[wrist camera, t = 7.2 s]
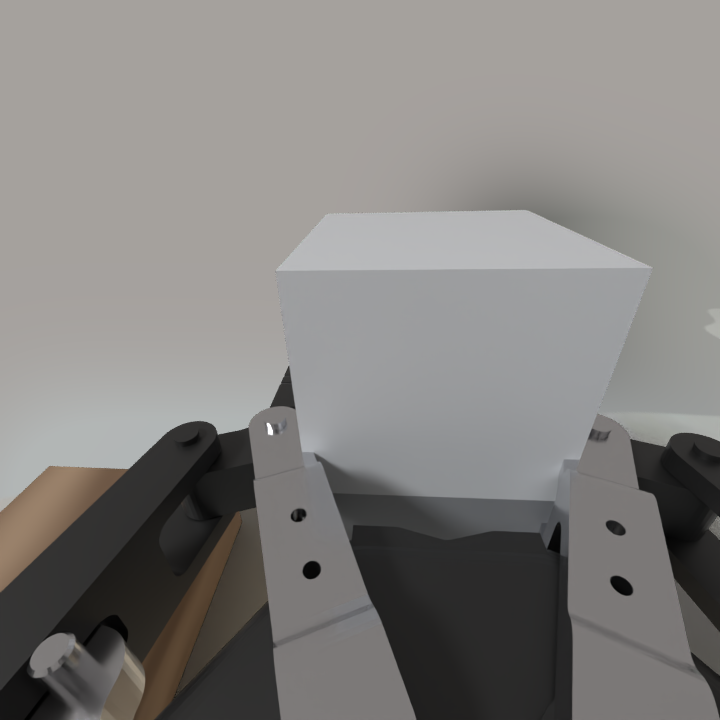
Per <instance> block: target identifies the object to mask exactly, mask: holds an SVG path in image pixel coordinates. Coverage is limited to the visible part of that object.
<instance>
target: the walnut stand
mask: <svg viewBox="0 0 720 720" xmlns="http://www.w3.org/2000/svg"><path fill="white" fill-rule="evenodd" d="M128 470H129V469H108V468H83V467H81V468H80V467H58V466H57V467H55V466H49V467H48V468H47V469H46V470H45V471H44V472H43V473H42V474H41V475H40V476H38V478H36V479H35V480H34V481H33V482H32V483H31V484H30V485H29V486H28V487H27V488H26V489H25V490H24V491H23V492H22V493H21V494H19V495H18V496H17V497H16V498H15V499H14V500H13V501H12V502H11V503H10V504H9V505H8V506H7V507H6V508H5V509H3V510H2V511H1V512H0V592H1V591H2V590H3V589H4V588H5V587H6V586H8V585H9V584H10V583H11V582H12V581H13V580H14V579H15V578H16V577H17V576H18V575H19V574H20V573H21V572H22V571H23V570H24V569H25V568H26V567H27V566H28V565H29V564H30V563H32V562H33V561H34V560H35V559H36V558H37V557H38V556H39V555H40V554H41V553H42V552H43V551H44V550H45V549H46V548H47V547H48V546H49V545H50V544H51V543H52V542H53V541H54V540H56V539H57V538H58V537H59V536H60V535H61V534H62V533H63V532H64V531H65V530H66V529H67V528H68V527H69V526H70V525H71V524H72V523H73V522H74V521H75V520H76V519H77V518H78V517H80V516H81V515H82V514H83V513H84V512H85V511H86V510H87V509H88V508H89V507H90V506H91V505H92V504H93V503H94V502H95V501H96V500H97V499H98V498H99V497H100V496H101V495H102V494H104V493H105V492H106V491H107V490H108V489H109V488H110V487H111V486H112V485H113V484H114V483H115V482H116V481H117V480H118V479H119V478H120V477H121V476H122V475H123V474H124V473H125V472H126V471H128ZM241 523H242V520H241V516H240V513H239V512H236V514H235V516H234V518H233V519H232V521H231V522H230V524H229V526H228V527H227V529H226V530H225V532H224V534H223V535H222V537H221V538H220V540H219V541H218V543H217V545H216V546H215V548H214V549H213V551H212V553H211V554H210V556H209V557H208V559H207V561H206V562H205V564H204V565H203V567H202V569H201V570H200V572H199V573H198V575H197V577H196V578H195V580H194V581H193V583H192V584H191V586H190V588H189V589H188V591H187V592H186V594H185V596H184V597H183V599H182V600H181V602H180V604H179V605H178V607H177V608H176V610H175V612H174V613H173V615H172V616H171V618H170V620H169V621H168V623H167V624H166V626H165V627H164V629H163V631H162V632H161V634H160V635H159V637H158V639H157V640H156V642H155V643H154V645H153V647H152V648H151V650H150V651H149V653H148V655H147V656H146V658H145V659H144V661H143V663H142V665H143V668H144V671H145V687H144V692H143V696H142V699H141V702H140V704H139V706H138V708H137V710H136V712H135V715H134V718H133V720H154V719H155V718H156V717H157V716H158V715H159V714H160V713H161V712H162V711H163V710H164V709H165V708H166V707H167V706H168V704H169V703H170V702H171V701H172V700H173V698H174V695H175V693H176V690H177V688H178V685H179V683H180V680H181V677H182V675H183V672H184V670H185V667H186V665H187V662H188V659H189V657H190V654H191V652H192V649H193V647H194V644H195V642H196V639H197V636H198V634H199V631H200V629H201V626H202V624H203V621H204V618H205V616H206V613H207V611H208V608H209V606H210V603H211V600H212V598H213V595H214V593H215V590H216V588H217V585H218V582H219V580H220V577H221V575H222V572H223V570H224V567H225V564H226V562H227V559H228V557H229V554H230V552H231V549H232V546H233V544H234V541H235V539H236V536H237V534H238V531H239V528H240V526H241Z"/></svg>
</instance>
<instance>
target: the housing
mask: <svg viewBox="0 0 720 720" xmlns="http://www.w3.org/2000/svg"><path fill="white" fill-rule="evenodd" d="M652 269H653V268H652V267H650V266H648V265H646V264H643V263H641V262H639V261H637V260H635V259H632V258H630V257H628V256H626V255H624V254H622V253H619V252H617V251H615V250H613V249H610V248H608V247H606V246H604V245H602V244H600V243H597V242H595V241H593V240H591V239H589V238H587V237H584V236H582V235H580V234H578V233H576V232H573V231H571V230H569V229H567V228H565V227H563V226H560V225H558V224H556V223H554V222H551V221H549V220H547V219H545V218H543V217H541V216H539V215H536V214H534V213H532V212H530V211H528V210H505V211H452V212H405V213H403V212H400V213H349V214H326V216H325V217H324V218H323V219H322V220H321V221H320V222H319V223H318V224H317V225H316V227H315V228H314V229H313V230H312V231H311V232H310V233H309V234H308V235H307V237H306V238H305V239H304V240H303V241H302V242H301V243H300V244H299V245H298V246H297V248H296V249H295V250H294V251H293V252H292V253H291V254H290V255H289V256H288V257H287V259H286V260H285V261H284V262H283V263H282V264H281V265H280V266H279V268H278V269H277V270H276V278H277V285H278V292H279V299H280V305H281V312H282V319H283V326H284V333H285V339H286V346H287V353H288V360H289V367H290V374H291V381H292V387H293V394H294V401H295V408H296V415H297V422H298V428H299V435H300V442H301V449H302V452H314V455H315V458H316V461H317V462H319V461H320V462H321V464H322V466H323V468H324V471H325V474H326V477H327V480H328V482H329V485H330V488H331V491H332V494H333V497H334V499H335V502H336V505H337V508H338V511H339V514H340V516H341V519H342V522H343V525H344V528H345V531H346V533H347V536H348V539H349V540H352V532H353V525H364V526H388V527H400V528H404V529H407V530H411V531H414V532H418V533H422V534H425V535H429V536H432V537H436V538H439V539H444V540H451V539H456V538H461V537H466V536H471V535H475V534H480V533H485V532H490V531H510V532H534V533H538V532H539V529H540V526H541V523H547V522H548V520H549V517H550V514H551V511H552V509H553V506H554V503H555V499H556V494H557V487H558V475H559V472H560V469H561V466H562V463H563V461H564V459H573V460H580V458H581V455H582V453H583V450H584V447H585V445H586V442H587V439H588V437H589V434H590V432H591V429H592V426H593V424H594V421H595V418H596V416H597V413H598V410H599V408H600V405H601V402H602V400H603V397H604V395H605V392H606V390H607V387H608V384H609V382H610V379H611V376H612V374H613V371H614V369H615V366H616V363H617V361H618V358H619V355H620V353H621V350H622V348H623V345H624V342H625V340H626V337H627V334H628V332H629V329H630V327H631V324H632V321H633V319H634V316H635V313H636V311H637V308H638V305H639V303H640V300H641V298H642V295H643V292H644V290H645V287H646V285H647V282H648V279H649V277H650V274H651V271H652Z"/></svg>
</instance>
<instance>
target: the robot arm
mask: <svg viewBox="0 0 720 720" xmlns="http://www.w3.org/2000/svg"><path fill="white" fill-rule="evenodd" d="M255 507H257V515H258V522H259V530H260V538H261V546H262V554H263V562H264V570H265V578H266V586H267V594H268V601H267V602H266V604H265V605H264V606H263V607H262V608H261V609H260V610H259V611H258V612H257V613H256V614H255V615H254V616H253V617H252V618H251V619H250V620H249V621H248V622H247V623H246V624H245V625H244V626H243V628H242V629H241V630H240V631H239V632H238V633H237V634H236V635H235V636H234V637H233V638H232V639H231V640H230V641H229V642H228V643H227V644H226V645H225V646H224V647H223V648H222V649H221V650H220V651H219V652H218V654H217V655H216V656H215V657H214V658H213V659H212V660H211V661H210V662H209V663H208V664H207V665H206V666H205V667H204V668H203V669H202V670H201V671H200V672H199V673H198V674H197V675H196V676H195V677H194V678H193V680H192V681H191V682H190V683H189V684H188V685H187V686H186V687H185V688H184V689H183V690H182V691H181V692H180V693H179V694H178V695H177V696H176V697H175V698H174V699H173V700H172V701H171V702H170V703H169V704H168V706H167V707H166V708H165V709H164V710H163V711H162V712H161V713H160V714H159V715H158V716H157V717H156V718H155V719H154V720H720V676H719V675H718V674H717V673H715V672H714V671H713V670H712V669H711V668H709V667H708V666H707V665H706V664H705V663H703V662H702V661H701V660H700V659H699V658H697V657H696V656H695V655H694V654H693V653H691V652H690V648H689V644H688V639H687V635H686V630H685V626H684V621H683V617H682V612H681V608H680V603H679V599H678V594H677V590H676V586H675V581H674V579H675V580H676V581H677V582H678V583H679V584H680V586H681V587H682V588H683V589H684V590H685V592H686V593H687V594H688V595H689V596H690V597H691V599H692V600H693V601H694V602H695V603H696V604H697V606H698V607H699V608H700V609H701V610H702V612H703V613H704V614H705V615H706V616H707V617H708V619H709V620H710V621H711V622H712V623H713V624H714V626H715V627H716V628H717V629H718V630H719V632H720V540H719V539H718V538H717V537H716V536H715V535H714V534H713V533H712V532H711V531H710V530H709V527H710V526H711V524H712V523H713V522H714V520H715V519H716V517H717V516H719V517H720V441H717V440H715V439H712V438H710V437H706V436H703V435H699V434H693V433H679V434H675V435H673V436H672V437H671V438H670V440H669V442H668V444H667V446H666V447H663V446H659V445H654V444H649V443H645V442H640V441H636V440H632V439H630V437H629V434H628V432H627V431H626V430H625V429H624V428H623V427H622V426H621V425H620V424H618V423H617V422H615V421H614V420H612V419H610V418H608V417H605V416H602V415H599V414H597V416H596V418H595V421H594V424H593V426H592V429H591V432H590V434H589V437H588V439H587V442H586V445H585V447H584V450H583V453H582V455H581V458H580V460H573V459H564V461H563V463H562V466H561V469H560V472H559V475H558V487H557V494H556V499H555V503H554V506H553V509H552V511H551V514H550V517H549V520H548V522H547V523H541V526H540V529H539V532H538V533H534V532H510V531H490V532H485V533H480V534H475V535H471V536H466V537H461V538H456V539H451V540H444V539H439V538H436V537H432V536H429V535H425V534H422V533H418V532H414V531H411V530H407V529H404V528H400V527H388V526H364V525H353V532H352V540H349V539H348V536H347V533H346V531H345V528H344V525H343V522H342V519H341V516H340V514H339V511H338V508H337V505H336V502H335V499H334V497H333V494H332V491H331V488H330V485H329V482H328V480H327V477H326V474H325V471H324V468H323V466H322V464H321V462H320V461H319V462H317V461H316V458H315V455H314V452H302V449H301V442H300V435H299V428H298V422H297V415H296V408H295V401H294V394H293V387H292V381H291V374H290V367H289V366H288V369H287V371H286V373H285V377H284V378H283V380H282V382H281V385H280V386H279V389H278V391H277V393H276V395H275V397H274V400H273V402H272V404H271V406H270V408H268V409H265V410H263V411H261V412H259V413H258V414H256V415H255V416H254V417H253V418H252V419H251V421H250V423H249V428H246V429H243V430H239V431H235V432H229V433H224V434H219V435H218V434H217V431H216V428H215V427H214V426H213V425H212V424H210V423H208V422H203V421H195V422H189V423H185V424H182V425H180V426H178V427H176V428H174V429H172V430H170V431H169V432H167V434H165V435H164V436H163V437H162V438H161V439H160V440H159V441H158V442H157V443H156V444H155V445H154V446H153V447H152V448H150V449H149V450H148V451H147V452H146V453H145V454H144V455H143V456H142V457H141V458H140V459H139V460H138V461H137V462H136V463H135V464H134V465H133V466H132V467H131V468H130V469H129V470H128V471H126V472H125V473H124V474H123V475H122V476H121V477H120V478H119V479H118V480H117V481H116V482H115V483H114V484H113V485H112V486H111V487H110V488H109V489H108V490H107V491H106V492H105V493H104V494H102V495H101V496H100V497H99V498H98V499H97V500H96V501H95V502H94V503H93V504H92V505H91V506H90V507H89V508H88V509H87V510H86V511H85V512H84V513H83V514H82V515H81V516H80V517H78V518H77V519H76V520H75V521H74V522H73V523H72V524H71V525H70V526H69V527H68V528H67V529H66V530H65V531H64V532H63V533H62V534H61V535H60V536H59V537H58V538H57V539H56V540H54V541H53V542H52V543H51V544H50V545H49V546H48V547H47V548H46V549H45V550H44V551H43V552H42V553H41V554H40V555H39V556H38V557H37V558H36V559H35V560H34V561H33V562H32V563H30V564H29V565H28V566H27V567H26V568H25V569H24V570H23V571H22V572H21V573H20V574H19V575H18V576H17V577H16V578H15V579H14V580H13V581H12V582H11V583H10V584H9V585H8V586H6V587H5V588H4V589H3V590H2V591H1V592H0V720H133V718H134V715H135V712H136V710H137V708H138V706H139V704H140V702H141V699H142V696H143V692H144V687H145V671H144V668H143V665H142V663H143V661H144V659H145V658H146V656H147V655H148V653H149V651H150V650H151V648H152V647H153V645H154V643H155V642H156V640H157V639H158V637H159V635H160V634H161V632H162V631H163V629H164V627H165V626H166V624H167V623H168V621H169V620H170V618H171V616H172V615H173V613H174V612H175V610H176V608H177V607H178V605H179V604H180V602H181V600H182V599H183V597H184V596H185V594H186V592H187V591H188V589H189V588H190V586H191V584H192V583H193V581H194V580H195V578H196V577H197V575H198V573H199V572H200V570H201V569H202V567H203V565H204V564H205V562H206V561H207V559H208V557H209V556H210V554H211V553H212V551H213V549H214V548H215V546H216V545H217V543H218V541H219V540H220V538H221V537H222V535H223V534H224V532H225V530H226V529H227V527H228V526H229V524H230V522H231V521H232V519H233V518H234V516H235V514H236V512H239V511H243V510H247V509H251V508H255Z"/></svg>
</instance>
